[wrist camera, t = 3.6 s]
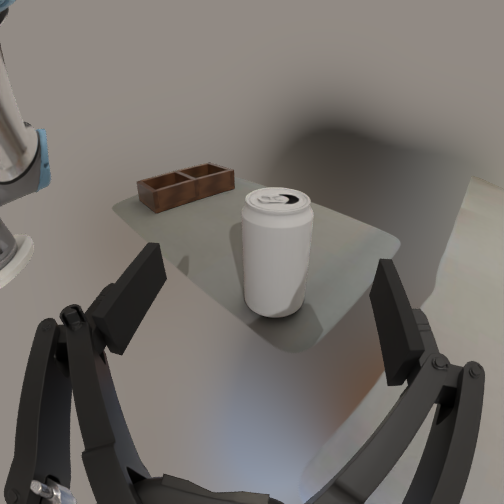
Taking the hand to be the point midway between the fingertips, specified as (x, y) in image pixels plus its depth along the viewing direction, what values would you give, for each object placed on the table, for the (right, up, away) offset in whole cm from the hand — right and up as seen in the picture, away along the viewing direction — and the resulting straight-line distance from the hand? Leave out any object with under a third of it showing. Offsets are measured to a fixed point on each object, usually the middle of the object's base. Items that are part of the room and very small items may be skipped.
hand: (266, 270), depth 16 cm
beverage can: (+2, -5, +14) cm, 15 cm away
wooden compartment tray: (-15, +14, +42) cm, 47 cm away
